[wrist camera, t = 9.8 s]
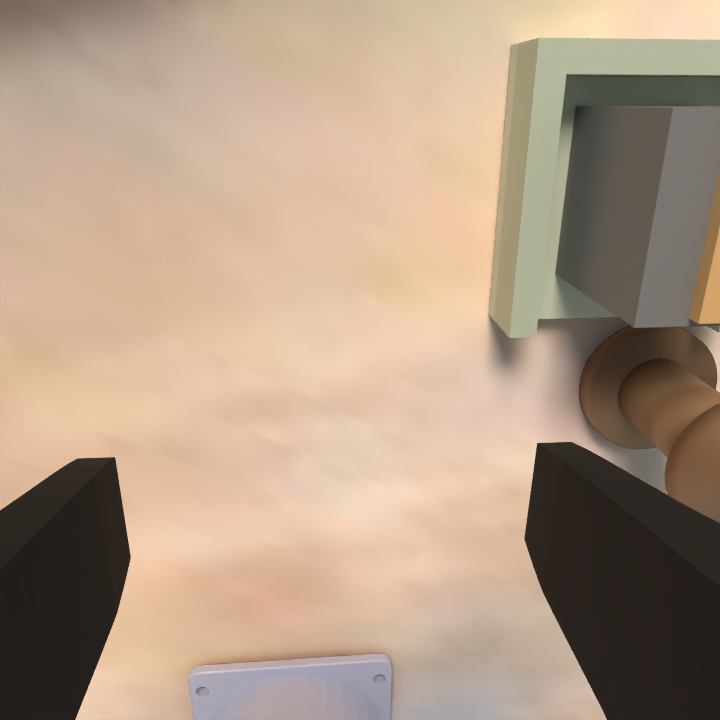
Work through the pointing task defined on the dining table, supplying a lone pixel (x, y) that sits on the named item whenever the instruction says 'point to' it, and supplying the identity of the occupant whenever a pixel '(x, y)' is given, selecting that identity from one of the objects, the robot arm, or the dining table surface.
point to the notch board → (552, 150)
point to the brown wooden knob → (660, 406)
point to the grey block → (645, 213)
